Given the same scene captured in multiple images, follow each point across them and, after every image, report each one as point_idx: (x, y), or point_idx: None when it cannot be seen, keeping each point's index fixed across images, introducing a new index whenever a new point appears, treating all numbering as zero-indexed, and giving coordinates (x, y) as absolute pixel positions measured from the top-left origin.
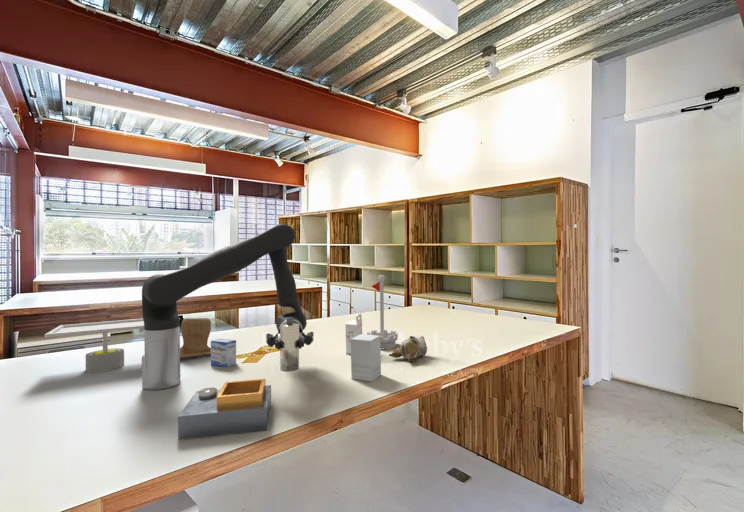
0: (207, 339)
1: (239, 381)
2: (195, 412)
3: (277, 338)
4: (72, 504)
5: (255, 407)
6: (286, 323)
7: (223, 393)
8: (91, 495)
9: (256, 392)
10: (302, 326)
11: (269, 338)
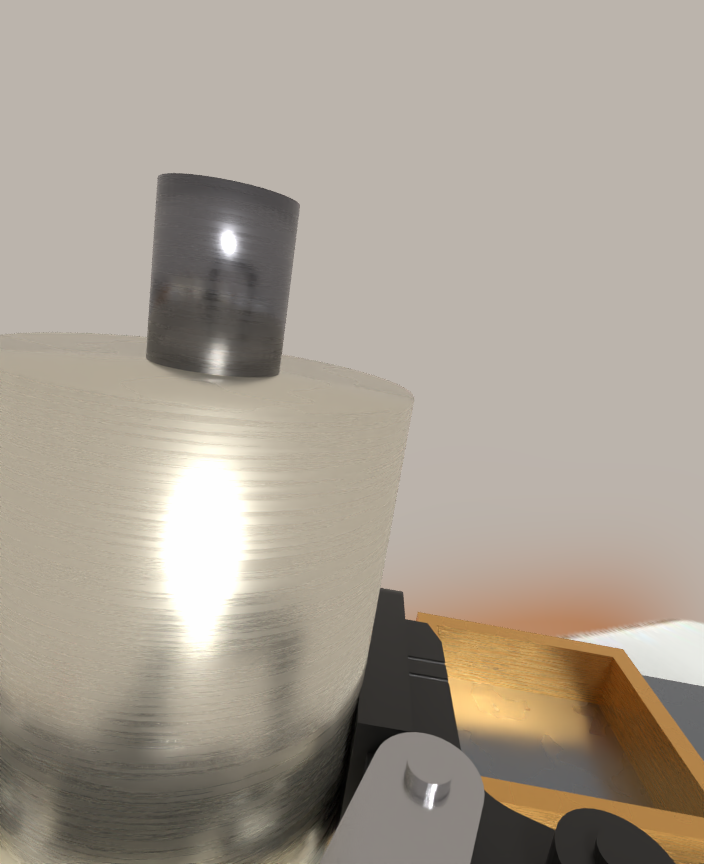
0: None
1: (643, 816)
2: (682, 697)
3: (429, 737)
4: (699, 623)
5: None
6: (240, 411)
7: (635, 705)
8: (690, 631)
9: (446, 626)
10: None
11: (645, 847)
